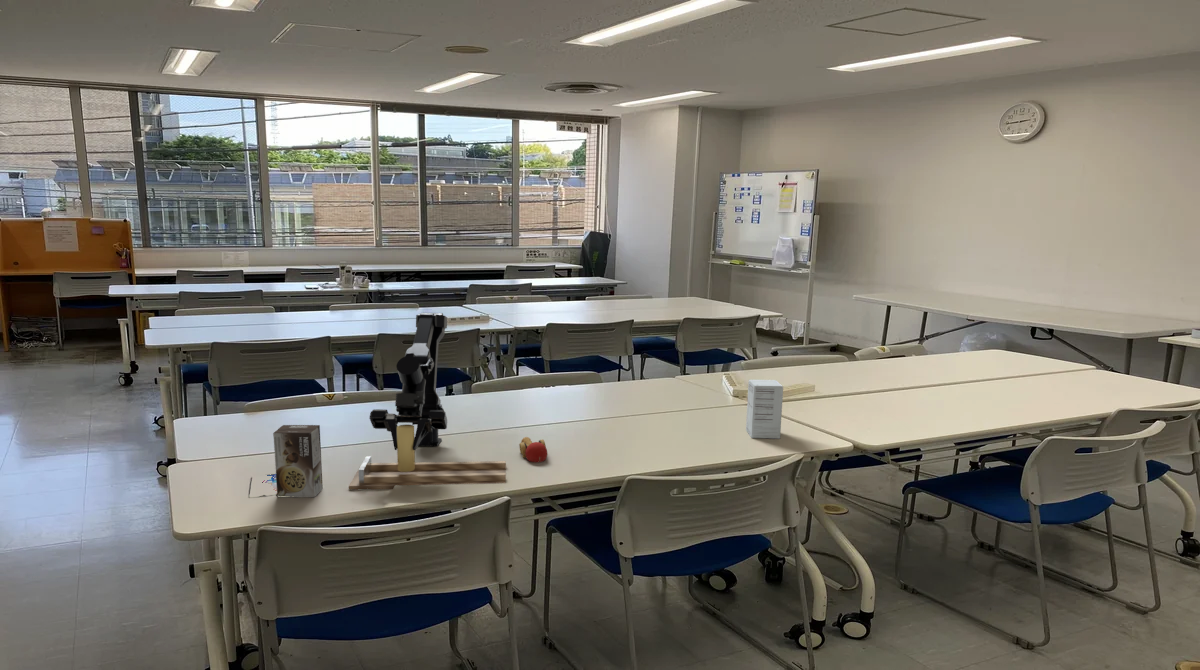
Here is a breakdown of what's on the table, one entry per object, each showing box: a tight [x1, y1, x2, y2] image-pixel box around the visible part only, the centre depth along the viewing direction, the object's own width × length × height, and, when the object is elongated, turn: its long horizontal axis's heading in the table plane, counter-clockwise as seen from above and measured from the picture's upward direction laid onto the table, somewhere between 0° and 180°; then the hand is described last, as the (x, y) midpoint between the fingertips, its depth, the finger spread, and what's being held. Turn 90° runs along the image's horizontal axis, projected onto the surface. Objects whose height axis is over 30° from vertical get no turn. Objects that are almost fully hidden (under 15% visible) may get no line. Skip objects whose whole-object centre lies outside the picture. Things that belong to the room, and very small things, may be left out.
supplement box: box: [745, 379, 784, 440], centre depth 237 cm, size 10×9×17 cm
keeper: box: [396, 424, 416, 472], centre depth 189 cm, size 4×4×11 cm
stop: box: [358, 455, 372, 483], centre depth 191 cm, size 1×10×4 cm, turn 7°
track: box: [348, 460, 507, 491], centre depth 193 cm, size 38×14×2 cm, turn 97°
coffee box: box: [272, 424, 324, 498], centre depth 180 cm, size 9×6×16 cm
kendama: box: [518, 436, 548, 463], centre depth 212 cm, size 8×6×18 cm
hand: (404, 449), depth 187 cm, fingers closed on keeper, 4 cm apart
